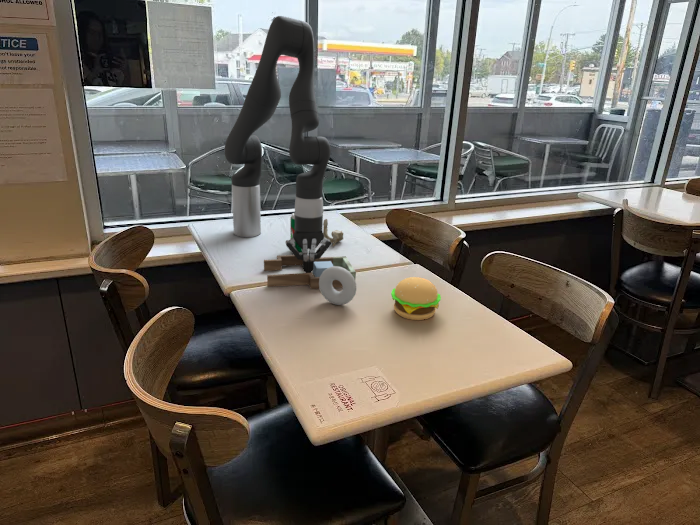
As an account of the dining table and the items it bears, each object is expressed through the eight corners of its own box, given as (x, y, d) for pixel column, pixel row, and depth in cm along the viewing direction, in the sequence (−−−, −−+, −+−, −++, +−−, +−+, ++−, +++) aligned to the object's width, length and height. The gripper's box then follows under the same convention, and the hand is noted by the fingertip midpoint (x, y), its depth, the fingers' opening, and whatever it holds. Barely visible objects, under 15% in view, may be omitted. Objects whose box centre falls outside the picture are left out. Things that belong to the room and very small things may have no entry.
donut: (357, 305, 123) (359, 268, 120) (351, 311, 120) (354, 273, 117) (322, 296, 127) (323, 260, 123) (315, 302, 124) (316, 265, 120)
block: (313, 273, 142) (313, 261, 140) (330, 272, 143) (330, 261, 141) (316, 280, 137) (316, 268, 136) (333, 279, 138) (334, 267, 137)
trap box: (263, 265, 144) (263, 256, 143) (343, 262, 150) (343, 252, 149) (268, 291, 128) (268, 281, 127) (358, 286, 134) (358, 276, 133)
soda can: (307, 248, 160) (308, 212, 155) (304, 253, 155) (305, 217, 151) (292, 247, 160) (292, 211, 156) (288, 252, 156) (288, 215, 151)
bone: (352, 241, 164) (338, 217, 159) (337, 252, 162) (323, 229, 157) (340, 235, 171) (327, 212, 166) (326, 246, 170) (312, 223, 165)
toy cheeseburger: (381, 304, 124) (383, 273, 121) (422, 298, 129) (426, 268, 126) (404, 326, 114) (407, 293, 111) (448, 319, 119) (452, 286, 116)
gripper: (330, 208, 137) (328, 266, 144) (282, 209, 134) (282, 268, 140) (335, 216, 130) (333, 276, 137) (285, 217, 127) (285, 278, 134)
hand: (307, 272), depth 139 cm, fingers closed
